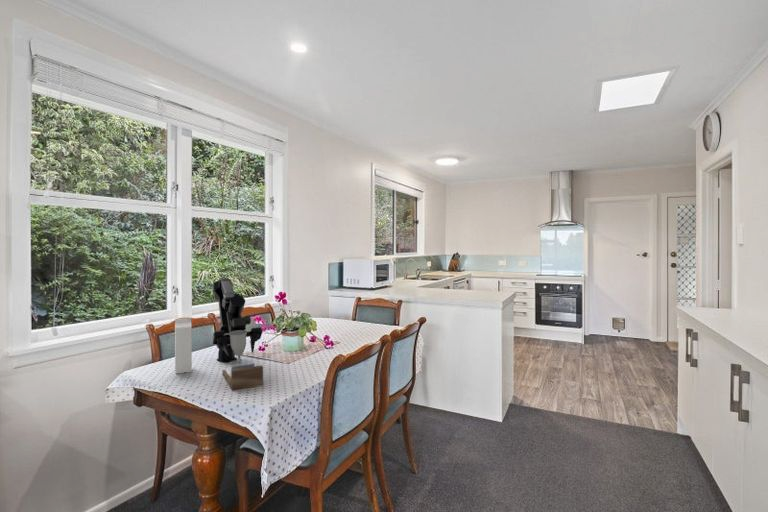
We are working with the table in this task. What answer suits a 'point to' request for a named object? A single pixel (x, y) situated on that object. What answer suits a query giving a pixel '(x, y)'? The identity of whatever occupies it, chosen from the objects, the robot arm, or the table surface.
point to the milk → (183, 345)
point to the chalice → (238, 343)
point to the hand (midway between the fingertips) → (240, 353)
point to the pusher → (242, 366)
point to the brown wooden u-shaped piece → (244, 377)
